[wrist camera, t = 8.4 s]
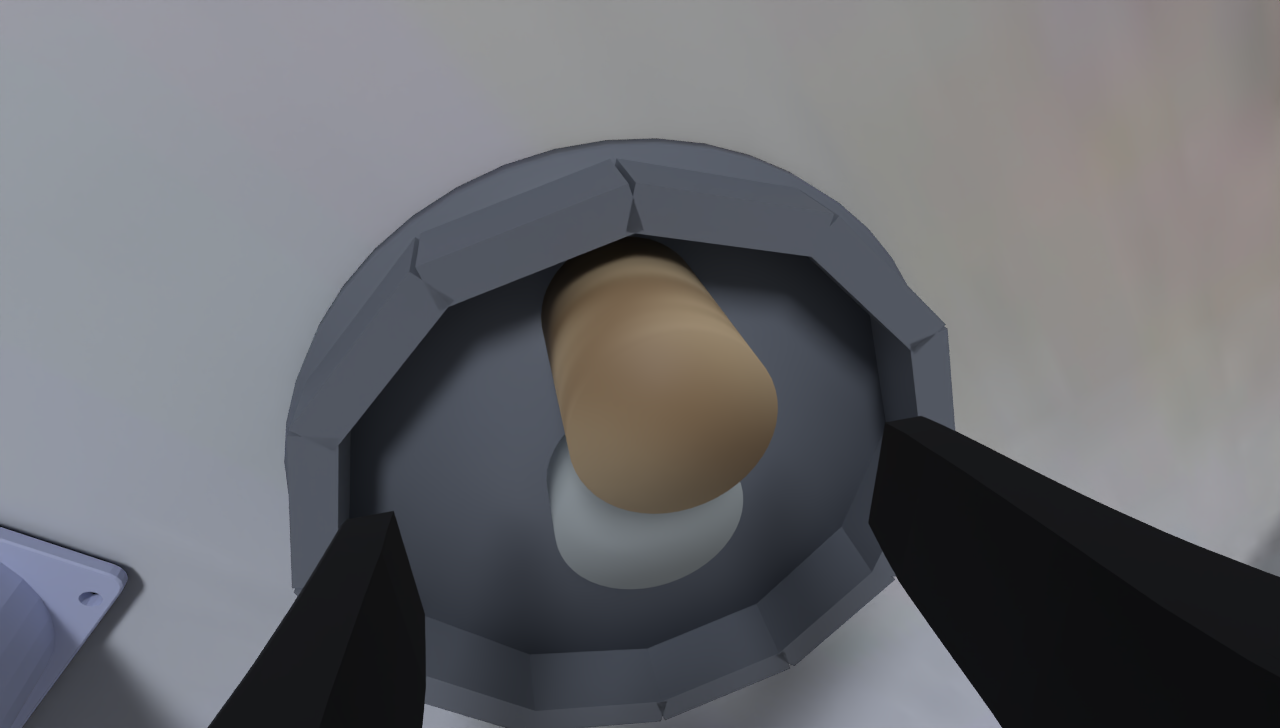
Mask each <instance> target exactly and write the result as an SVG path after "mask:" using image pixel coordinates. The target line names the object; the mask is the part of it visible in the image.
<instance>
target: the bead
mask: <svg viewBox="0 0 1280 728" xmlns="http://www.w3.org/2000/svg"><path fill="white" fill-rule="evenodd" d="M541 323H542V330H543V335H544V339H545V344H546V349H547V353H548V358H549V362H550V367H551V372H552V376H553V381H554V385H555V390H556V395H557V399H558V404H559V408H560V413H561V418H562V422H563V427H564V431H565V436H566V440H567V445H568V450H569V454H570V459H571V462H572V465H573V467H574V470H575V472H576V473H577V475H578V477H579V478H580V480H581V481H582V483H583V484H584V485H585V486H586V487H587V488H588V489H589V490H590V491H591V492H592V493H593V494H594V495H596V496H597V497H598V498H600V499H602V500H603V501H605V502H606V503H608V504H611V505H613V506H615V507H617V508H621V509H624V510H627V511H632V512H638V513H648V514H661V513H671V512H678V511H682V510H686V509H690V508H693V507H696V506H699V505H702V504H704V503H707V502H709V501H711V500H713V499H715V498H717V497H719V496H720V495H722V494H724V493H725V492H727V491H728V490H730V489H731V488H732V487H734V486H735V485H737V484H738V483H739V482H740V481H741V480H742V479H743V478H745V477H746V476H747V475H748V474H749V473H750V471H751V470H752V469H753V468H754V467H755V466H756V465H757V463H758V462H759V460H760V459H761V458H762V456H763V455H764V453H765V451H766V449H767V448H768V446H769V444H770V441H771V439H772V436H773V434H774V430H775V427H776V422H777V415H778V400H777V395H776V389H775V386H774V384H773V381H772V378H771V377H770V375H769V373H768V371H767V369H766V368H765V367H764V365H763V364H762V363H761V361H760V360H759V359H758V357H757V356H756V355H755V353H754V352H753V351H752V349H751V348H750V347H749V345H748V344H747V343H746V341H745V340H744V339H743V337H742V336H741V335H740V333H739V332H738V331H737V329H736V328H735V327H734V325H733V324H732V323H731V321H730V320H729V319H728V317H727V316H726V315H725V313H724V312H723V311H722V309H721V308H720V307H719V305H718V304H717V303H716V301H715V300H714V299H713V298H712V296H711V295H710V294H709V292H708V291H707V290H706V288H705V287H704V286H703V284H702V283H701V282H700V280H699V279H698V278H697V276H696V275H695V274H694V272H693V271H692V270H691V268H690V267H689V266H688V264H687V263H686V262H685V261H684V259H683V258H681V257H680V256H679V255H678V254H677V253H676V252H675V251H673V250H672V249H670V248H669V247H667V246H665V245H663V244H661V243H659V242H656V241H653V240H650V239H646V238H641V237H629V236H627V237H624V238H622V239H619V240H617V241H614V242H611V243H609V244H606V245H604V246H601V247H599V248H596V249H594V250H591V251H589V252H586V253H584V254H581V255H579V256H576V257H573V258H571V259H568V260H567V261H566V262H565V263H564V264H563V265H562V266H561V267H560V269H559V270H558V271H557V273H556V274H555V275H554V277H553V278H552V280H551V282H550V284H549V286H548V288H547V290H546V293H545V296H544V299H543V304H542V311H541Z"/></svg>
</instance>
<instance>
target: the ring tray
mask: <svg viewBox="0 0 1280 728" xmlns="http://www.w3.org/2000/svg"><path fill="white" fill-rule="evenodd" d="M627 236H629V237H641V238H646V239H650V240H653V241H656V242H659V243H661V244H663V245H665V246H667V247H669V248H670V249H672V250H673V251H675V252H676V253H677V254H678V255H679V256H680V257H681V258H683V259H684V261H685V262H686V263H687V264H688V266H689V267H690V268H691V270H692V271H693V272H694V274H695V275H696V276H697V278H698V279H699V280H700V282H701V283H702V284H703V286H704V287H705V288H706V290H707V291H708V292H709V294H710V295H711V296H712V298H713V299H714V300H715V301H716V303H717V304H718V305H719V307H720V308H721V309H722V311H723V312H724V313H725V315H726V316H727V317H728V319H729V320H730V321H731V323H732V324H733V325H734V327H735V328H736V329H737V331H738V332H739V333H740V335H741V336H742V337H743V339H744V340H745V341H746V343H747V344H748V345H749V347H750V348H751V349H752V351H753V352H754V353H755V355H756V356H757V357H758V359H759V360H760V361H761V363H762V364H763V365H764V367H765V368H766V369H767V371H768V373H769V375H770V377H771V378H772V381H773V384H774V386H775V389H776V395H777V400H778V415H777V422H776V427H775V430H774V434H773V436H772V439H771V441H770V444H769V446H768V448H767V449H766V451H765V453H764V455H763V456H762V458H761V459H760V460H759V462H758V463H757V465H756V466H755V467H754V468H753V469H752V470H751V471H750V473H749V474H748V475H747V476H746V477H745V478H743V479H742V480H741V481H740V482H739V483H738V484H737V485H735V486H734V487H732V488H731V489H730V490H728V491H727V492H725V493H724V494H722V495H720V496H719V497H717V498H715V499H713V500H711V501H709V502H707V503H704V504H702V505H699V506H696V507H693V508H690V509H686V510H682V511H678V512H671V513H661V514H648V513H638V512H632V511H627V510H624V509H621V508H617V507H615V506H613V505H611V504H608V503H606V502H605V501H603V500H602V499H600V498H598V497H597V496H596V495H594V494H593V493H592V492H591V491H590V490H589V489H588V488H587V487H586V486H585V485H584V484H583V483H582V481H581V480H580V478H579V477H578V475H577V473H576V472H575V470H574V467H573V465H572V462H571V459H570V454H569V450H568V445H567V440H566V436H565V431H564V427H563V422H562V418H561V413H560V408H559V404H558V399H557V395H556V390H555V385H554V381H553V376H552V372H551V367H550V362H549V358H548V353H547V349H546V344H545V339H544V335H543V330H542V323H541V311H542V304H543V299H544V296H545V293H546V290H547V288H548V286H549V284H550V282H551V280H552V278H553V277H554V275H555V274H556V273H557V271H558V270H559V269H560V267H561V266H562V265H563V264H564V263H565V262H566V261H567V260H568V259H571V258H573V257H576V256H579V255H581V254H584V253H586V252H589V251H591V250H594V249H596V248H599V247H601V246H604V245H606V244H609V243H611V242H614V241H617V240H619V239H622V238H624V237H627ZM945 325H946V324H945V323H944V322H943V321H942V320H941V319H940V318H939V317H938V316H937V315H936V314H935V313H934V312H933V311H932V310H931V309H930V308H929V307H928V306H927V305H926V304H925V303H924V302H923V301H922V300H921V299H920V298H919V297H918V296H917V295H916V294H915V293H914V292H913V291H912V290H911V289H910V288H909V287H908V286H907V284H906V282H905V280H904V279H903V277H902V275H901V273H900V271H899V270H898V268H897V266H896V264H895V262H894V261H893V259H892V257H891V256H890V255H889V254H888V252H887V251H886V250H885V249H884V247H883V246H882V245H881V244H880V242H879V241H878V240H877V239H876V238H875V236H874V235H873V234H872V233H871V231H870V230H869V229H868V228H867V227H866V226H865V225H864V224H862V223H861V222H860V221H859V220H858V219H857V218H856V217H854V216H853V215H852V214H851V213H850V212H849V211H848V210H846V209H845V208H844V207H843V206H842V205H841V204H840V203H838V202H837V201H835V200H834V199H832V198H830V197H829V196H827V195H826V194H824V193H823V192H821V191H819V190H818V189H816V188H814V187H813V186H811V185H810V184H808V183H806V182H805V181H803V180H802V179H800V178H798V177H797V176H795V175H794V174H792V173H790V172H788V171H786V170H784V169H781V168H779V167H777V166H774V165H772V164H770V163H767V162H765V161H762V160H760V159H758V158H755V157H753V156H751V155H748V154H744V153H740V152H736V151H732V150H728V149H724V148H720V147H716V146H712V145H708V144H704V143H694V142H685V141H675V140H666V139H628V140H605V141H599V142H593V143H587V144H581V145H576V146H570V147H564V148H558V149H553V150H550V151H547V152H544V153H541V154H538V155H534V156H531V157H528V158H525V159H522V160H518V161H515V162H512V163H509V164H506V165H503V166H501V167H499V168H497V169H495V170H493V171H490V172H488V173H486V174H484V175H482V176H480V177H478V178H476V179H473V180H471V181H469V182H467V183H465V184H463V185H461V186H459V187H456V188H455V189H453V190H452V191H450V192H449V193H447V194H446V195H444V196H443V197H441V198H439V199H438V200H436V201H435V202H433V203H432V204H430V205H429V206H427V207H426V208H424V209H423V210H421V211H419V212H418V213H416V214H415V215H413V216H412V217H411V218H410V219H409V220H407V221H406V222H405V223H404V224H403V225H402V226H401V227H399V228H398V229H397V230H396V231H395V232H394V233H393V234H391V235H390V236H389V237H388V238H387V239H386V240H385V241H383V242H382V243H381V244H380V245H379V246H378V247H376V248H375V249H374V251H373V252H372V253H371V254H370V255H369V256H368V258H367V259H366V260H365V261H364V262H363V263H362V265H361V266H360V267H359V268H358V269H357V270H356V272H355V273H354V274H353V275H352V276H351V277H350V279H349V280H348V281H347V282H346V283H345V284H344V286H343V287H342V289H341V290H340V292H339V294H338V295H337V297H336V298H335V300H334V302H333V303H332V305H331V306H330V308H329V310H328V311H327V313H326V315H325V316H324V318H323V319H322V321H321V323H320V324H319V326H318V329H317V331H316V334H315V336H314V338H313V341H312V343H311V346H310V348H309V350H308V353H307V355H306V358H305V360H304V362H303V365H302V367H301V370H300V372H299V375H298V377H297V380H296V383H295V387H294V392H293V396H292V400H291V405H290V409H289V413H288V418H287V422H286V441H285V461H284V462H285V470H286V478H287V485H288V493H289V515H290V543H291V570H292V588H295V591H294V593H295V594H296V595H297V596H298V595H299V594H300V592H301V590H302V589H303V587H304V586H305V584H306V582H307V581H308V579H309V578H310V576H311V574H312V573H313V571H314V569H315V568H316V566H317V564H318V563H319V561H320V560H321V558H322V556H323V554H324V553H325V551H326V549H327V548H328V546H329V544H330V543H331V541H332V539H333V538H334V536H335V534H336V533H337V531H338V529H339V528H340V527H341V525H342V524H343V523H344V522H345V520H346V519H351V518H357V517H362V516H368V515H373V514H379V513H384V512H390V511H394V513H395V517H396V520H397V523H398V527H399V530H400V533H401V536H402V540H403V543H404V546H405V550H406V553H407V556H408V560H409V563H410V566H411V570H412V573H413V576H414V579H415V583H416V586H417V589H418V593H419V596H420V599H421V603H422V606H423V609H424V613H425V638H426V692H425V704H428V705H431V706H435V707H438V708H441V709H445V710H448V711H452V712H455V713H458V714H462V715H465V716H468V717H472V718H475V719H478V720H482V721H485V722H488V723H492V724H495V725H498V726H502V727H505V728H584V727H596V726H608V725H620V724H633V723H645V722H657V721H661V719H662V716H663V717H664V719H665V720H667V719H669V718H671V717H674V716H676V715H679V714H681V713H684V712H686V711H688V710H691V709H693V708H696V707H698V706H700V705H703V704H705V703H708V702H710V701H713V700H715V699H717V698H720V697H722V696H725V695H727V694H729V693H732V692H734V691H737V690H739V689H741V688H744V687H746V686H749V685H751V684H754V683H756V682H758V681H761V680H763V679H766V678H768V677H770V676H773V675H775V674H778V673H780V672H783V671H785V670H787V669H790V666H789V664H791V665H793V666H795V665H796V664H797V663H798V662H799V661H801V660H802V659H803V658H804V657H805V656H806V655H808V654H809V653H810V652H811V651H812V650H813V649H815V648H816V647H817V646H818V645H819V644H820V643H822V642H823V641H824V640H825V639H826V638H827V637H829V636H830V635H831V634H832V633H833V632H834V631H836V630H837V629H838V628H839V627H840V626H841V625H843V624H844V623H845V622H846V621H847V620H848V619H850V618H851V617H852V616H853V615H854V614H855V613H857V612H858V611H859V610H860V609H861V608H862V607H864V606H865V605H866V604H867V603H868V602H869V601H871V600H872V599H873V598H874V597H875V596H876V595H878V594H879V593H880V592H881V591H882V590H883V589H885V588H886V587H887V586H888V585H889V584H890V583H892V582H893V581H894V580H895V579H894V578H893V576H896V575H895V573H894V571H893V570H892V568H891V566H890V564H889V562H888V561H887V559H886V557H885V555H884V553H883V551H882V549H881V547H880V545H879V543H878V541H877V539H876V537H875V536H874V534H873V532H872V530H871V528H870V526H869V524H868V521H869V515H870V509H871V503H872V497H873V491H874V485H875V479H876V473H877V467H878V461H879V455H880V449H881V443H882V437H883V431H884V425H885V422H890V421H895V420H901V419H906V418H912V417H917V416H923V417H926V418H928V419H930V420H933V421H935V422H937V423H939V424H942V425H944V426H946V427H948V428H950V429H952V430H954V431H955V423H954V409H953V396H952V383H951V370H950V356H949V343H948V330H947V328H946V327H944V326H945Z"/></svg>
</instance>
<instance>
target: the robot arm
mask: <svg viewBox="0 0 1280 728" xmlns="http://www.w3.org/2000/svg"><path fill="white" fill-rule="evenodd" d="M868 524H869V526H870V528H871V530H872V532H873V534H874V536H875V537H876V539H877V541H878V543H879V545H880V547H881V549H882V551H883V553H884V555H885V557H886V559H887V561H888V562H889V564H890V566H891V568H892V570H893V571H894V573H895V575H896V577H897V579H898V580H899V582H900V583H901V585H902V586H903V588H904V589H905V591H906V592H907V594H908V595H909V597H910V598H911V600H912V601H913V602H914V604H915V605H916V607H917V608H918V609H919V611H920V612H921V614H922V615H923V617H924V618H925V619H926V621H927V622H928V624H929V625H930V627H931V628H932V629H933V631H934V632H935V634H936V635H937V636H938V638H939V639H940V641H941V642H942V643H943V645H944V646H945V648H946V649H947V650H948V652H949V653H950V655H951V656H952V657H953V659H954V660H955V662H956V663H957V664H958V666H959V667H960V669H961V670H962V671H963V673H964V674H965V675H966V677H967V678H968V680H969V681H970V682H971V684H972V685H973V687H974V688H975V689H976V691H977V692H978V694H979V695H980V696H981V698H982V699H983V701H984V702H985V703H986V705H987V706H988V708H989V709H990V710H991V712H992V713H993V715H994V716H995V718H996V719H997V721H998V722H999V724H1000V725H1001V727H1002V728H1280V577H1278V576H1275V575H1273V574H1270V573H1267V572H1264V571H1262V570H1259V569H1257V568H1254V567H1251V566H1249V565H1246V564H1244V563H1241V562H1238V561H1236V560H1233V559H1231V558H1228V557H1225V556H1223V555H1220V554H1218V553H1215V552H1212V551H1210V550H1207V549H1205V548H1202V547H1199V546H1197V545H1195V544H1192V543H1190V542H1187V541H1185V540H1183V539H1180V538H1178V537H1175V536H1173V535H1171V534H1168V533H1166V532H1164V531H1161V530H1159V529H1157V528H1155V527H1152V526H1150V525H1148V524H1146V523H1143V522H1141V521H1139V520H1137V519H1134V518H1132V517H1130V516H1128V515H1125V514H1123V513H1121V512H1119V511H1117V510H1114V509H1112V508H1110V507H1108V506H1106V505H1104V504H1101V503H1099V502H1097V501H1095V500H1093V499H1091V498H1089V497H1087V496H1084V495H1082V494H1080V493H1078V492H1076V491H1074V490H1072V489H1070V488H1068V487H1066V486H1064V485H1062V484H1060V483H1058V482H1056V481H1054V480H1052V479H1050V478H1048V477H1046V476H1044V475H1042V474H1040V473H1038V472H1036V471H1034V470H1032V469H1030V468H1028V467H1026V466H1024V465H1022V464H1020V463H1018V462H1016V461H1014V460H1012V459H1010V458H1008V457H1006V456H1004V455H1002V454H1000V453H998V452H996V451H994V450H992V449H990V448H988V447H986V446H984V445H982V444H980V443H978V442H976V441H974V440H972V439H970V438H968V437H966V436H964V435H962V434H960V433H958V432H956V431H954V430H952V429H950V428H948V427H946V426H944V425H942V424H939V423H937V422H935V421H933V420H930V419H928V418H926V417H923V416H917V417H912V418H906V419H901V420H895V421H890V422H885V425H884V431H883V437H882V443H881V449H880V455H879V461H878V467H877V473H876V479H875V485H874V491H873V497H872V503H871V509H870V515H869V521H868ZM127 580H128V576H127V573H126V572H125V571H124V570H123V569H122V568H121V567H119V566H117V565H115V564H112V563H109V562H106V561H103V560H100V559H97V558H94V557H90V556H87V555H84V554H81V553H78V552H75V551H72V550H69V549H66V548H63V547H60V546H57V545H54V544H51V543H48V542H45V541H42V540H39V539H36V538H33V537H30V536H27V535H24V534H21V533H17V532H14V531H11V530H8V529H5V528H2V527H0V728H22V727H23V725H24V724H25V723H26V721H27V720H28V718H29V717H30V716H31V714H32V713H33V712H34V710H35V709H36V708H37V706H38V705H39V703H40V702H41V701H42V699H43V698H44V697H45V695H46V694H47V693H48V691H49V690H50V689H51V687H52V686H53V684H54V683H55V682H56V680H57V679H58V678H59V676H60V675H61V674H62V672H63V671H64V670H65V668H66V667H67V665H68V664H69V663H70V661H71V660H72V659H73V657H74V656H75V655H76V653H77V652H78V650H79V649H80V648H81V646H82V645H83V644H84V642H85V641H86V640H87V638H88V637H89V636H90V634H91V633H92V631H93V630H94V629H95V627H96V626H97V625H98V623H99V622H100V621H101V619H102V618H103V617H104V615H105V614H106V612H107V611H108V610H109V608H110V607H111V606H112V604H113V603H114V602H115V600H116V599H117V597H118V596H119V595H120V593H121V592H122V590H123V588H124V587H125V585H126V583H127ZM90 592H94V593H97V594H99V595H97V594H92V593H90ZM425 692H426V638H425V613H424V609H423V606H422V603H421V599H420V596H419V593H418V589H417V586H416V583H415V579H414V576H413V573H412V570H411V566H410V563H409V560H408V556H407V553H406V550H405V546H404V543H403V540H402V536H401V533H400V530H399V527H398V523H397V520H396V517H395V513H394V511H390V512H384V513H379V514H373V515H368V516H362V517H357V518H351V519H346V520H345V522H344V523H343V524H342V525H341V527H340V528H339V529H338V531H337V533H336V534H335V536H334V538H333V539H332V541H331V543H330V544H329V546H328V548H327V549H326V551H325V553H324V554H323V556H322V558H321V560H320V561H319V563H318V564H317V566H316V568H315V569H314V571H313V573H312V574H311V576H310V578H309V579H308V581H307V582H306V584H305V586H304V587H303V589H302V590H301V592H300V594H299V595H298V597H297V598H296V600H295V602H294V603H293V605H292V606H291V608H290V610H289V611H288V613H287V614H286V616H285V617H284V619H283V620H282V622H281V623H280V625H279V626H278V628H277V629H276V631H275V632H274V634H273V635H272V637H271V638H270V640H269V641H268V643H267V644H266V646H265V647H264V649H263V650H262V652H261V653H260V655H259V656H258V658H257V659H256V661H255V662H254V664H253V665H252V667H251V668H250V670H249V671H248V673H247V674H246V675H245V677H244V678H243V680H242V681H241V682H240V684H239V685H238V687H237V688H236V689H235V691H234V692H233V693H232V695H231V696H230V698H229V699H228V700H227V702H226V703H225V704H224V706H223V707H222V709H221V710H220V711H219V713H218V714H217V715H216V717H215V718H214V720H213V721H212V722H211V724H210V725H209V726H208V728H422V724H423V713H424V703H425Z"/></svg>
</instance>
